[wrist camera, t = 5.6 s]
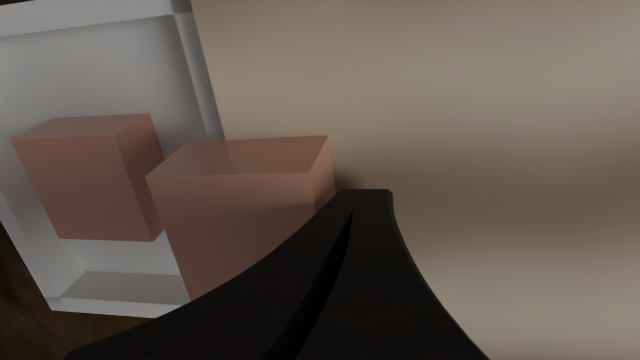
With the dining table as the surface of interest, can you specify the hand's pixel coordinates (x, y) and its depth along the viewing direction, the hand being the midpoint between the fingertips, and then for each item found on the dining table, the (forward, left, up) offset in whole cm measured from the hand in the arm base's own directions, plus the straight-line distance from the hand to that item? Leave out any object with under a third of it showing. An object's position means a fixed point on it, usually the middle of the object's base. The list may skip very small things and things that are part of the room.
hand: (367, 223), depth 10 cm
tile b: (0, +10, -2) cm, 10 cm away
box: (0, +9, -4) cm, 10 cm away
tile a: (0, +3, -1) cm, 3 cm away
